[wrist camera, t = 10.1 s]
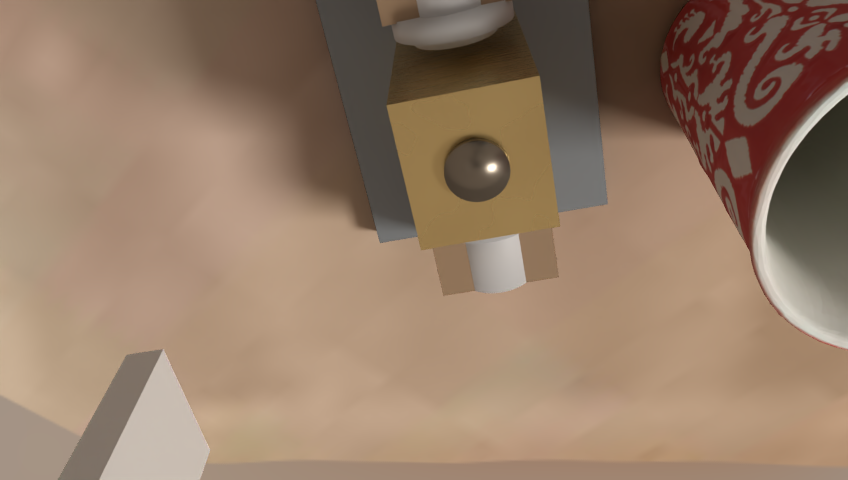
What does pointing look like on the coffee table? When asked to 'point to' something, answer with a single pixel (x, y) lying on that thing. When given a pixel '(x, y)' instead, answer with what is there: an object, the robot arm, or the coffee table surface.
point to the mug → (773, 141)
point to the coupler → (473, 139)
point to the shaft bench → (558, 92)
